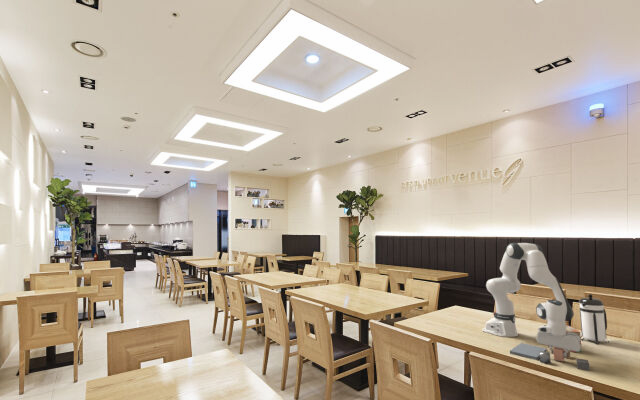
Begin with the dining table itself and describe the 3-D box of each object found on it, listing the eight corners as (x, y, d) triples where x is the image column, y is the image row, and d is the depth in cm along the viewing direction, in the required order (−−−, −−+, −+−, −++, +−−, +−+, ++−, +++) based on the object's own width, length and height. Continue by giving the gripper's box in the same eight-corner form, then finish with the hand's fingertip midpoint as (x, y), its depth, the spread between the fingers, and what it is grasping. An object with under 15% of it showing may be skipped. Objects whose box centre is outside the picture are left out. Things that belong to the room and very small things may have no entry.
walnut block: (557, 356, 191) (557, 349, 192) (559, 354, 194) (559, 347, 195) (568, 359, 187) (567, 351, 188) (570, 356, 191) (569, 349, 191)
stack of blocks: (551, 340, 219) (550, 321, 220) (562, 340, 218) (560, 321, 219) (570, 352, 198) (568, 330, 199) (582, 352, 197) (580, 331, 198)
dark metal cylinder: (538, 362, 184) (537, 352, 184) (541, 359, 187) (540, 350, 187) (549, 364, 180) (548, 355, 180) (551, 362, 183) (551, 352, 184)
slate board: (509, 353, 197) (509, 350, 197) (521, 345, 210) (521, 342, 210) (536, 360, 186) (536, 357, 187) (547, 351, 200) (547, 348, 200)
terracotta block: (554, 359, 185) (553, 348, 186) (556, 357, 188) (555, 346, 189) (562, 361, 182) (561, 350, 183) (564, 359, 185) (563, 348, 186)
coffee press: (614, 346, 205) (609, 297, 207) (581, 342, 213) (577, 295, 216) (608, 338, 219) (604, 292, 222) (577, 335, 228) (574, 290, 230)
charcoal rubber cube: (577, 369, 174) (577, 361, 174) (576, 365, 178) (576, 358, 179) (589, 371, 171) (589, 363, 172) (588, 367, 176) (588, 360, 176)
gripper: (581, 332, 181) (583, 359, 180) (538, 325, 196) (539, 349, 195) (578, 335, 177) (580, 362, 176) (534, 327, 192) (536, 351, 191)
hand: (558, 355), depth 186 cm, fingers closed on terracotta block, 4 cm apart
